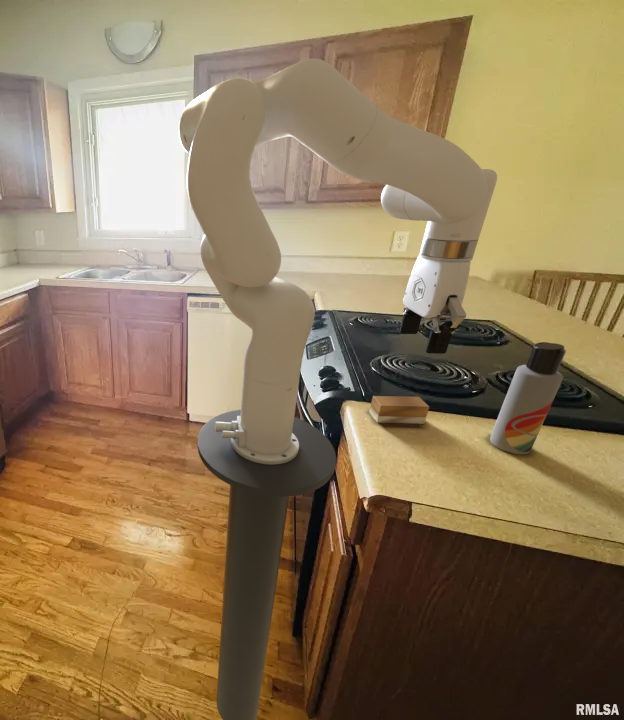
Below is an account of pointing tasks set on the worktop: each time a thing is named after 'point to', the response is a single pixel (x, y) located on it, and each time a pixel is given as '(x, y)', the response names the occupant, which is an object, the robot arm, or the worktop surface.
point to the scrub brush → (398, 409)
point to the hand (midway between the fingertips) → (420, 342)
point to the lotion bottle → (529, 399)
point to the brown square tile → (401, 425)
